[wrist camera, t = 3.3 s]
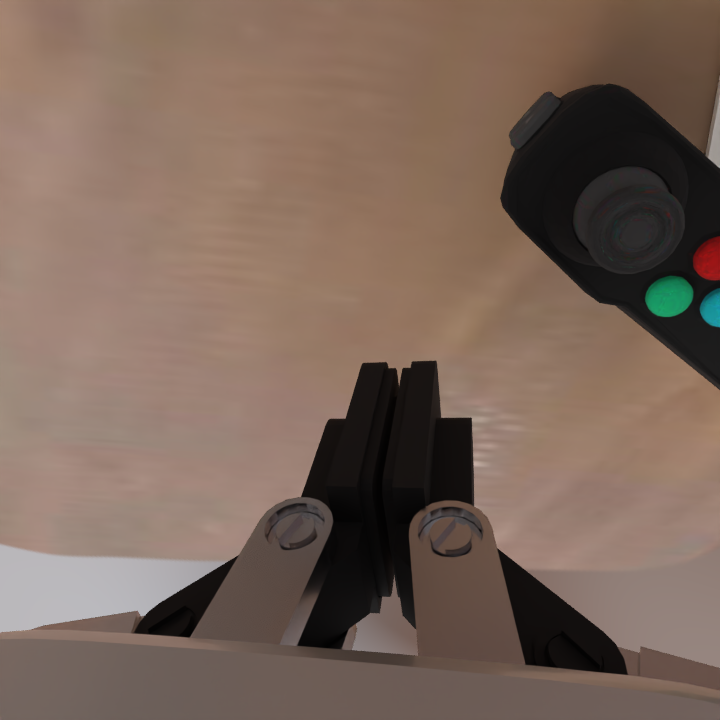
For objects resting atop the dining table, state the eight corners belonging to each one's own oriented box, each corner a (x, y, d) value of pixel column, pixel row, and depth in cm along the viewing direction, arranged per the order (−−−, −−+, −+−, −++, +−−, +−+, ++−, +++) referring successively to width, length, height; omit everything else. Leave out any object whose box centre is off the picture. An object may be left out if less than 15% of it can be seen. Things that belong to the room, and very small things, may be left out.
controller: (558, 34, 19) (635, 63, 11) (779, 256, 22) (974, 413, 14) (470, 138, 21) (478, 228, 13) (682, 327, 24) (799, 500, 16)
